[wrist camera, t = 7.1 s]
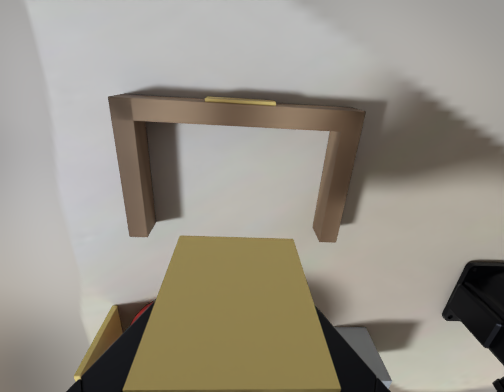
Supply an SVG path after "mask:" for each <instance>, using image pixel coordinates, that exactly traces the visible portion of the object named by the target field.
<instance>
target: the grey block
mask: <svg viewBox="0 0 504 392" xmlns="http://www.w3.org/2000/svg"><path fill="white" fill-rule="evenodd" d="M334 328H335V329H336V330H337V331H338V332H339V333H340V334H341V336H342V337H343V338H344V339H345V340H346V341H347V342H348V344H349V345H350V346H351V347H352V348H353V349H354V350H355V352H356V353H357V354H358V355H359V356H360V357H361V358H362V360H363V361H364V362H365V363H366V364H367V365H368V366H369V368H370V369H371V370H372V371H373V372H374V373H375V374H376V376H377V378H379V379H380V380H381V381H382V382H383V383H384V385H385V386H386V387H387V388H388V389H389V387H390V384H391V382H392V380H391V378H390V376H389V374H388V372H387V370H386V367H385V365H384V363H383V361H382V359H381V357H380V355H379V353H378V351H377V349H376V347H375V345H374V343H373V341H372V339H371V337H370V335H369V333H368V331H367V329H366V327H334Z"/></svg>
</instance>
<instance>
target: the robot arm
mask: <svg viewBox="0 0 504 392" xmlns="http://www.w3.org/2000/svg"><path fill="white" fill-rule="evenodd" d="M155 301H156V300H155ZM155 301H154V302H153V303H152V304H151V305H150V306H149V307H148V308H147V309H146V310H145V311H144V312H143V313H142V314H141V315H140V316H139V317H138V318H137V319H136V320H135V321H134V322H133V323H132V324H131V325H130V327H129V328H128V329H127V330H126V331H125V332H124V333H123V334H122V335H121V336H120V337H119V338H118V339H117V340H116V341H115V342H114V343H113V344H112V345H111V346H110V347H109V348H108V349H107V350H106V351H105V352H104V353H103V354H102V355H101V356H100V358H99V359H98V360H97V361H96V362H95V363H94V364H93V365H92V366H91V367H90V368H89V369H88V370H87V371H86V372H85V373H84V374H83V375H82V376H81V379H78V380H77V381H76V382H75V383H74V384H73V385H72V386H71V387H70V388H69V389H68V391H66V392H123V388H124V385H125V382H126V380H127V377H128V374H129V371H130V369H131V366H132V363H133V361H134V358H135V355H136V353H137V350H138V347H139V345H140V342H141V339H142V336H143V334H144V331H145V328H146V326H147V323H148V320H149V318H150V315H151V312H152V309H153V307H154V304H155ZM314 306H315V305H314ZM315 309H316V312H317V315H318V318H319V321H320V324H321V328H322V331H323V334H324V337H325V340H326V343H327V346H328V349H329V353H330V356H331V359H332V362H333V365H334V368H335V371H336V374H337V377H338V381H339V384H340V387H341V391H340V392H391V391H390V390H389V389H388V388H387V387H386V386H385V385H384V383H383V382H382V381H381V380H380V379H379V378H377V376H376V374H375V373H374V372H373V371H372V370H371V369H370V368H369V366H368V365H367V364H366V363H365V362H364V361H363V360H362V358H361V357H360V356H359V355H358V354H357V353H356V352H355V350H354V349H353V348H352V347H351V346H350V345H349V344H348V342H347V341H346V340H345V339H344V338H343V337H342V336H341V334H340V333H339V332H338V331H337V330H336V329H335V328H334V326H333V325H332V324H331V323H330V322H329V321H328V320H327V318H326V317H325V316H324V315H323V314H322V313H321V312H320V310H319V309H318V308H317V307H316V306H315ZM442 316H443V318H444V319H445V320H446V321H461V322H462V323H463V324H464V325H465V326H466V328H467V329H468V330H469V331H470V332H471V333H472V334H473V335H474V337H475V338H476V339H477V340H478V341H479V342H480V343H481V345H482V346H483V347H485V348H488V349H489V350H490V351H491V352H492V353H493V354H494V355H495V357H496V358H497V359H498V360H499V361H500V362H501V363H502V364H503V365H504V263H474V262H473V263H469V264H467V265H466V266H465V268H464V270H463V272H462V274H461V276H460V278H459V280H458V282H457V284H456V286H455V288H454V290H453V293H452V295H451V297H450V299H449V301H448V303H447V305H446V307H445V309H444V311H443V313H442ZM493 385H494V387H495V389H496V390H497V392H504V377H502V378H501V379H497V380H495V381H494V382H493Z"/></svg>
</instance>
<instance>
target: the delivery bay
mask: <svg viewBox="0 0 504 392" xmlns="http://www.w3.org/2000/svg"><path fill="white" fill-rule="evenodd" d="M108 100H109V107H110V113H111V120H112V126H113V133H114V139H115V146H116V152H117V159H118V165H119V171H120V178H121V184H122V191H123V197H124V204H125V210H126V217H127V223H128V229H129V236H130V237H148V236H149V234H150V232H151V230H152V228H153V227H154V225H155V223H156V218H155V208H154V199H153V189H152V179H151V170H150V160H149V151H148V141H147V131H146V122H145V121H151V122H170V123H188V124H207V125H225V126H244V127H263V128H281V129H300V130H318V131H330V133H329V139H328V144H327V150H326V156H325V161H324V167H323V172H322V178H321V183H320V189H319V195H318V200H317V206H316V211H315V217H314V222H313V229H314V231H315V233H316V236H317V238H318V240H319V242H336V240H337V236H338V231H339V227H340V223H341V218H342V214H343V209H344V205H345V201H346V196H347V192H348V188H349V183H350V179H351V174H352V170H353V166H354V161H355V157H356V152H357V148H358V144H359V139H360V135H361V131H362V126H363V122H364V117H365V113H366V112H365V111H362V110H358V109H355V108H350V107H333V106H316V105H299V104H282V103H276V102H275V101H274V100H258V99H241V98H224V97H208V96H207V97H206V98H205V99H198V98H181V97H164V96H148V95H131V94H120V95H114V96H109V97H108Z"/></svg>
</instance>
